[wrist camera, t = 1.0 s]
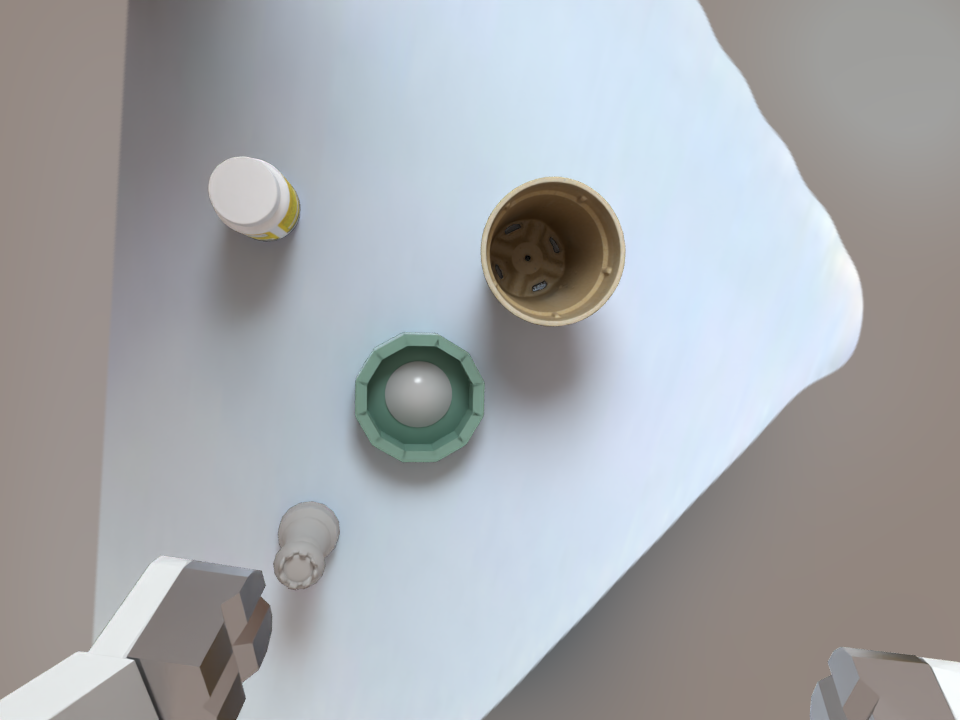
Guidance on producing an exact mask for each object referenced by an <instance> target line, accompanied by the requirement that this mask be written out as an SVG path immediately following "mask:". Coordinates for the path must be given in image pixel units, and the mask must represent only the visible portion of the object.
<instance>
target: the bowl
mask: <svg viewBox="0 0 960 720" xmlns="http://www.w3.org/2000/svg"><path fill="white" fill-rule="evenodd" d="M484 388H485V383H484V380H483V379H482V377H481V375H480V373H479V371H478V369H477V367H476V366H475V364H474V362H473V360H472V358H471V356H470V354H469V353H468V352H466V351H465V350H463V349H462V348H460V347H458V346H457V345H455V344H453V343H452V342H450V341H448V340H447V339H445V338H444V337H442V336H440V335H439V334H437V333H416V332H404V333H401V334H399V335H397V336H395V337H393V338H392V339H390V340H388V341H386V342H384V343H382V344H381V345H379V346H377V347H375V348H374V349H373V351H372V352H371V354H370V355H369V357H368V359H367V360H366V362H365V364H364V365H363V367H362V369H361V370H360V372H359V373H358V375H357V378H356V384H355V417H356V418H357V420H358V422H359V423H360V425H361V427H362V429H363V430H364V432H365V434H366V436H367V437H368V439H369V441H370V442H371V444H372V445H373V446H374V447H376V448H378V449H379V450H381V451H383V452H385V453H387V454H388V455H390V456H392V457H394V458H395V459H397V460H399V461H401V462H437V461H439V460H441V459H442V458H444V457H446V456H448V455H449V454H451V453H453V452H455V451H457V450H458V449H460V448H462V447H464V446H465V444H467V443H468V441H469V439H470V438H471V436H472V434H473V433H474V431H475V430H476V428H477V426H478V425H479V423H480V421H481V420H482V418H483V416H484Z"/></svg>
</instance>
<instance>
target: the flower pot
mask: <svg viewBox="0 0 960 720" xmlns="http://www.w3.org/2000/svg"><path fill="white" fill-rule="evenodd" d="M513 224H519V225H520V228H518V229H516V230H514V231H512V232H510V233H509V234H506V233H505V230H506V229H507V228H508V227H509V226H512V225H513ZM551 237H552V239H553V240H554V241H555V242H556V244H557V245H558V247H559V252H558V253H556V252H554V250H553V246H552V244H551V242H550V240H549V239H550V238H551ZM625 251H626V250H625V241H624V235H623V231H622V229H621V226H620V223H619V220H618V218H617V216H616V214H615V213H614V211H613V209H612V208H611V206H610V205H609V204H608V202H607V201H606V200H605V199H604V198H603V197H602V196H601V195H600V194H599V193H597V192H596V191H595V190H593V189H592V188H590V187H589V186H587V185H585V184H584V183H581V182H579V181H576V180H572V179H569V178H563V177H544V178H539V179H535V180H532V181H529V182H527V183H524V184H522V185H520V186H519V187H517V188H515V189H514V190H512V191H511V192H510V193H508V194H507V195H506V196H505V197H504V198H503V199H502V200H501V201H500V202H499V203H498V204H497V206H496V207H495V209H494V210H493V211H492V213H491V215H490V216H489V218H488V221H487V223H486V225H485V228H484V231H483V235H482V242H481V263H482V268H483V272H484V276H485V279H486V281H487V284H488V286H489V288H490V290H491V291H492V293H493V294H494V296H495V297H496V299H497V300H498V301H499V302H500V303H501V304H502V305H503V306H504V307H505V308H506V309H507V310H508V311H510V312H511V313H512V314H514V315H515V316H517V317H519V318H521V319H523V320H525V321H527V322H530V323H533V324H537V325H542V326H564V325H569V324H572V323H576V322H579V321H581V320H583V319H585V318H587V317H589V316H590V315H592V314H593V313H595V312H596V311H598V310H599V309H600V308H601V307H602V306H603V305H604V304H605V303H606V302H607V300H608V299H609V298H610V296H611V295H612V294H613V292H614V291H615V289H616V287H617V286H618V284H619V281H620V279H621V276H622V272H623V269H624V264H625ZM526 255H528V256H530V260H529V261H526V260H525V256H526ZM496 265H498V267H499V269H500V270H502V271H501V273H502V276H503V278H501V279H500V277H499V275H498V273H497V271H496V268H495V267H496ZM543 281H545V282H546V284H547V285H546V287H545V288H543V289H541V290H537V291H533V289H532V287H533V286H535V285H537V284H539V283H541V282H543Z"/></svg>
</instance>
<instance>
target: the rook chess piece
mask: <svg viewBox="0 0 960 720" xmlns="http://www.w3.org/2000/svg"><path fill="white" fill-rule="evenodd" d="M339 534H340V529H339V521H338V519H337V517H336V516H335V514H334V512H333V511H332V510H331V509H329V508H328V507H327V506H325V505H324V504H321V503H317V502H313V501H311V502H303V503H299V504H297V505H295V506H293V507H292V508H290V509H289V510H288V511H287V512H286V513H285V515H284V516H283V517H282V519H281V523H280V526H279V531H278V538H279V545H280V547H281V549H280V551H279V552H278V553H277V554H276V557H275V560H274V563H273V565H274V573H275V575H276V577H277V578H278V580H279V582H281V583H282V584H284V585H285V586H286V587H288V589H293V590H296V589H305V588H308V587H310V586H312V585H314V584H315V583H317V581H318V580H319V579H320V578H321V577H322V575H323V572H324V569H325V560H324V558H325V557H327V556H328V555H329V554H330V552H331V551H332V550H333V549H334V548H335V545H336V543H337V540H338V537H339Z"/></svg>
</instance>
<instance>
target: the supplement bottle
mask: <svg viewBox="0 0 960 720" xmlns="http://www.w3.org/2000/svg"><path fill="white" fill-rule="evenodd" d="M208 192H209V198H210V201H211V203H212V205H213V207H214V209H215V211H216V213H217V215H218V217H219V218H220V219H221V220H222V221H223V222H224V223H225V224H226V225H227V226H228V227H230V228H231V229H233V230H235V231H237V232H239V233H242V234H244V235H246V236H249V237H251V238H253V239H256V240H260V241H274V240H278V239H281V238H283V237H285V236H286V235H287V234H289V233H290V232H291V231H292V230H293V229H294V227H295V226H296V224H297V222H298V220H299V216H300V202H299V198H298V195H297V193H296V191H295V190H294V188H293V187H292V186H291V184H290V183H289V182H288V181H287V180H286V179H285V177H284V176H283V175H282V174H281V173H280V172H279V171H278V170H277V169H276V168H275V167H274V166H273V165H271V164H270V163H268V162H266V161H263V160H260V159H256V158H249V157H233V158H230V159H227V160H225V161H223V162H222V163H220V164H219V165H218V166H217V167H216V168H215V169H214V171H213V172H212V174H211V177H210V180H209V185H208Z"/></svg>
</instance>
